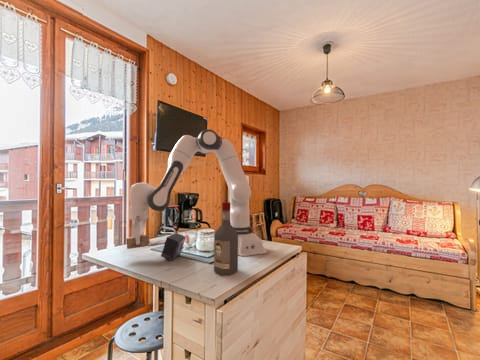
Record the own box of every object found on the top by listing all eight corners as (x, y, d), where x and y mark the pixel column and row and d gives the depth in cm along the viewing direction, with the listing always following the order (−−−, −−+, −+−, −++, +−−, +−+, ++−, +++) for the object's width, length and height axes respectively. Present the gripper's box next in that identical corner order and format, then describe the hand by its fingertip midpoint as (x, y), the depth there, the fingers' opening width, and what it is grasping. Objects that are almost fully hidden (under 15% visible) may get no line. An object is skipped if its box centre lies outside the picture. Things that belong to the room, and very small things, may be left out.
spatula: (126, 249, 118) (125, 239, 118) (129, 246, 124) (128, 236, 124) (164, 244, 121) (163, 234, 121) (166, 241, 127) (165, 231, 127)
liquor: (225, 266, 113) (225, 201, 114) (240, 270, 108) (241, 202, 108) (210, 271, 106) (211, 202, 106) (226, 277, 101) (226, 204, 101)
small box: (171, 261, 120) (178, 241, 119) (160, 256, 121) (166, 236, 120) (181, 255, 130) (186, 236, 130) (170, 250, 131) (175, 232, 131)
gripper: (142, 217, 113) (142, 248, 112) (148, 212, 132) (148, 237, 132) (127, 218, 111) (127, 249, 111) (135, 212, 131) (135, 238, 131)
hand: (138, 242), depth 122 cm, fingers closed on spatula, 3 cm apart
